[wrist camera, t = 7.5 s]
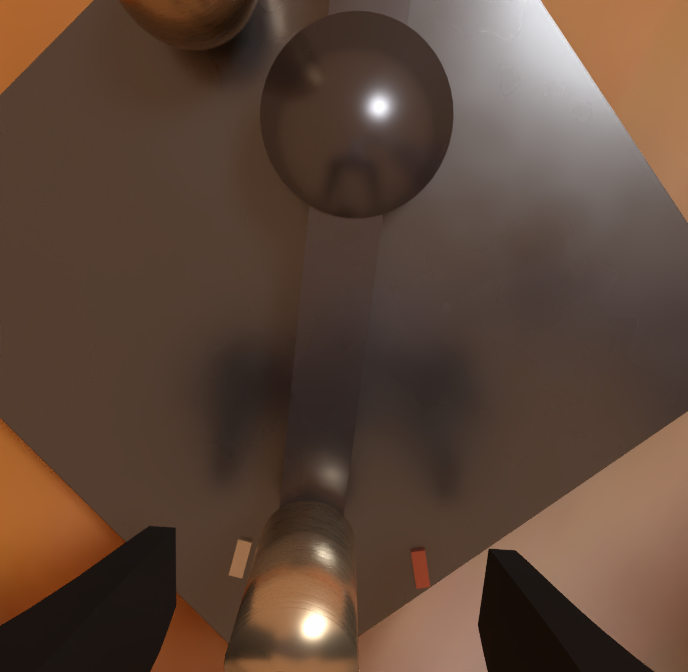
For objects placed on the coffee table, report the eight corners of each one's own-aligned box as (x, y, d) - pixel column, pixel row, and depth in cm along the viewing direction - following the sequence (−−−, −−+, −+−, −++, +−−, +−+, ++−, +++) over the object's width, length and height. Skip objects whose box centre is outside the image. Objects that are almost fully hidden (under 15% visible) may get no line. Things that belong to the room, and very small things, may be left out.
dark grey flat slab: (737, 342, 14) (900, 388, 10) (282, 658, 16) (259, 802, 12) (360, -219, 11) (365, -475, 7) (-117, 256, 14) (-318, 266, 10)
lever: (287, -134, 10) (239, -414, 6) (481, -109, 10) (581, -366, 6) (232, 555, 13) (176, 712, 9) (378, 571, 13) (393, 735, 9)
